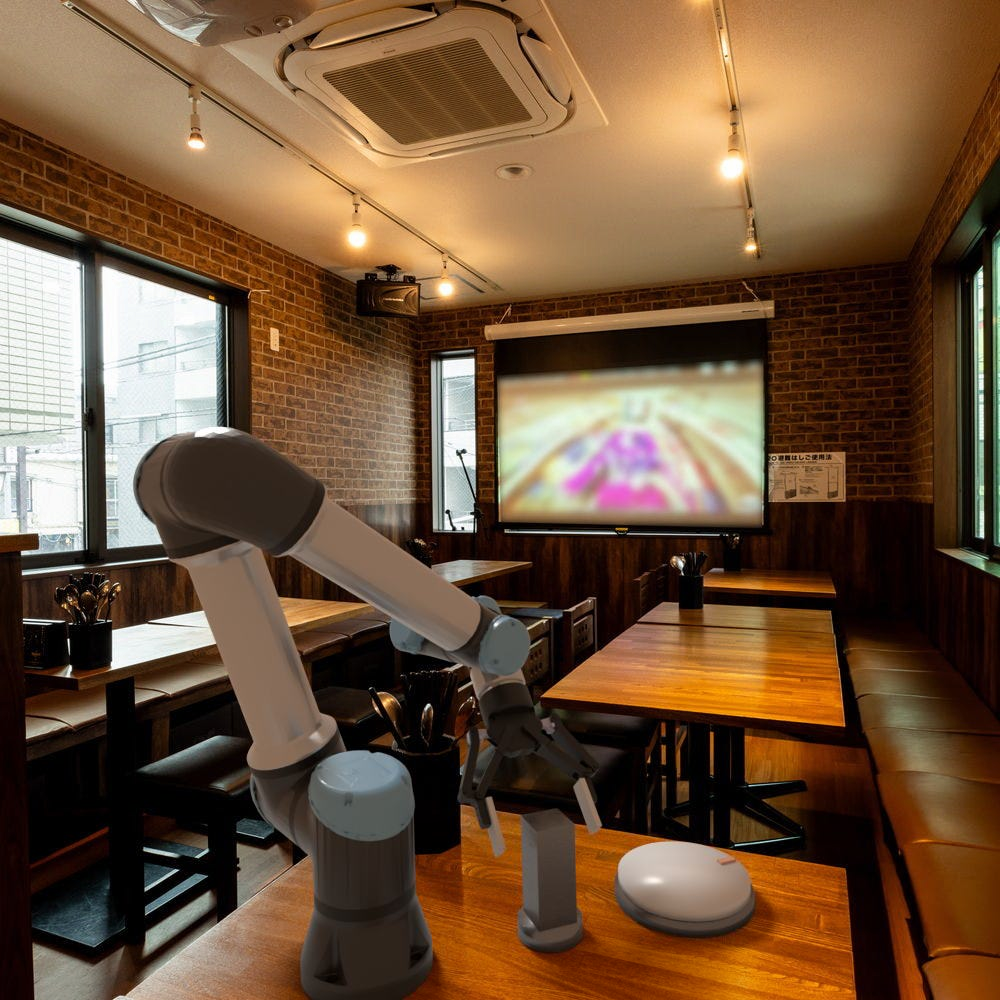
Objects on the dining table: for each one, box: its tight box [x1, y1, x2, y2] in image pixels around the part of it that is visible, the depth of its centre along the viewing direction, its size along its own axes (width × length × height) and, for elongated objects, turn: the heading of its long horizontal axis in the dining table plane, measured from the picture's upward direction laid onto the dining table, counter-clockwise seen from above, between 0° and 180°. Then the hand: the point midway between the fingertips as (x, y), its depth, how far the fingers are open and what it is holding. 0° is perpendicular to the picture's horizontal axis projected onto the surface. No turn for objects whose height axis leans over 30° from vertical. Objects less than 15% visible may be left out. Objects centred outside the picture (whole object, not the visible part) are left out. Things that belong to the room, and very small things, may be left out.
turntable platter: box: [617, 841, 751, 922], centre depth 99 cm, size 17×17×2 cm
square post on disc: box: [516, 807, 584, 953], centre depth 92 cm, size 8×8×14 cm
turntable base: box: [614, 871, 756, 939], centre depth 99 cm, size 18×18×2 cm
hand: (549, 841), depth 95 cm, fingers open, 13 cm apart
